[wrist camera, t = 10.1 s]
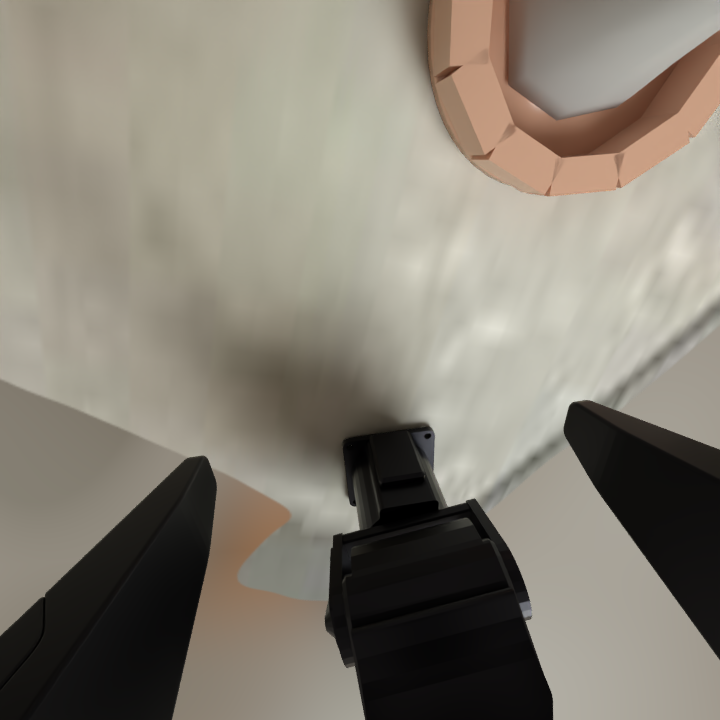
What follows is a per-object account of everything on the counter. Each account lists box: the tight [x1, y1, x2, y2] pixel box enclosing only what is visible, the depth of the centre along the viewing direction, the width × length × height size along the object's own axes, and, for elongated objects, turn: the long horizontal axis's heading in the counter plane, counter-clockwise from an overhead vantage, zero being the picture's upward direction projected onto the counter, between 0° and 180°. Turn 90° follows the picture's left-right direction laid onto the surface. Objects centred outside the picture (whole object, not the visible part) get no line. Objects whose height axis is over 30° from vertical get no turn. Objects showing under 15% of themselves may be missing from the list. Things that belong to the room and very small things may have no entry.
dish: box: [427, 0, 720, 196], centre depth 15 cm, size 13×13×3 cm
